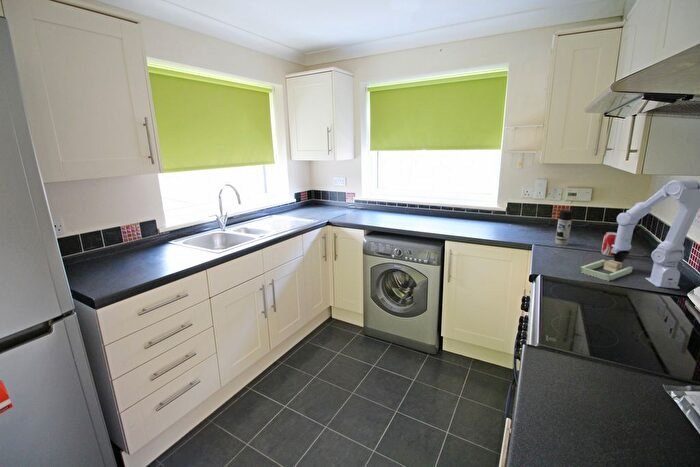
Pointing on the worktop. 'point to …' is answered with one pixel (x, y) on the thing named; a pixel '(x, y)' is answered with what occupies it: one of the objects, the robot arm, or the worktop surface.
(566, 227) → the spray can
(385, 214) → the worktop surface
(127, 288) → the worktop surface
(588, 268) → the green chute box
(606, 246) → the soda can
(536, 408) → the worktop surface
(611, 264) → the maple block
